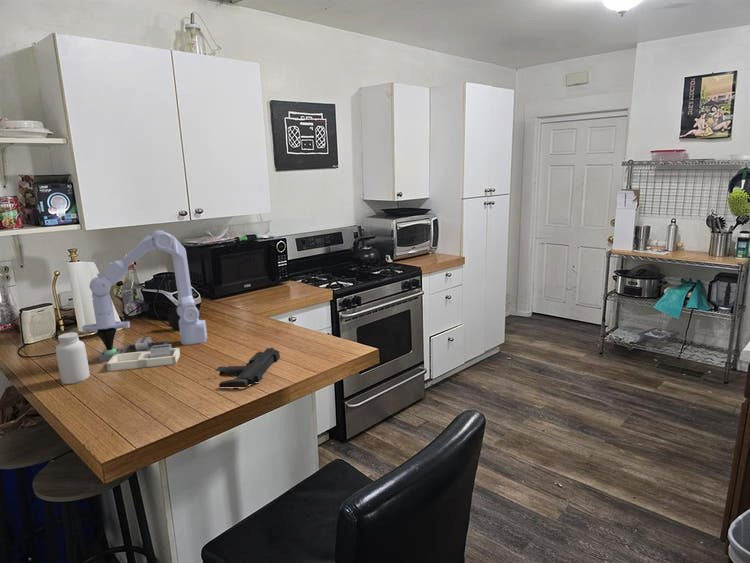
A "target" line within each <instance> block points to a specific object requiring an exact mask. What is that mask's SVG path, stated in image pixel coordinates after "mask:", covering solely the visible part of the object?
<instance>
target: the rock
mask: <svg viewBox="0 0 750 563" xmlns="http://www.w3.org/2000/svg"><path fill="white" fill-rule="evenodd" d="M196 308H197V309H198V311H199V308H198V307H196ZM199 312H200V311H199ZM166 317H167V320H168V325H169V326H170V328H171V329H176V330H180V329H179V320H180V316H179V315H178V314H177V307H169V308H167V316H166ZM198 318H199V320H202V318H201V317H200V316H199V317H198Z"/></svg>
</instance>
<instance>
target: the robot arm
mask: <svg viewBox="0 0 750 563" xmlns="http://www.w3.org/2000/svg"><path fill="white" fill-rule="evenodd" d="M156 248H157V249H158V250H161V251H163V252H166V253H168V254H170V255H171V257H172V264H173V269H174V276H175V282H176V289H177V303H178V304H177V307H176V308H177V314H178V315H179V316H180V320H179V329H178V330H179V336H180V343H181V345H183V346H184V345H187V346H188V345H189V346H190V345H194V344H203V343H207V339H208V331H207V323H206V320H204V319H201V320H199V318H198V317H200V311H198V310H199V308H198V307H197V308H198V309H197V308H196V301H195V299H194V297H193V290H192V285H191V284H192V283H191V278H190V277H191V276H190V270H189V263H188V258H187V257H188V256H187V250H186V248H185V247H184V246H183V245H182V243H180V241H179V240H178V239H177V238H176V237H175V235H172V234H170V233H169V232H166V231H164V230H162V229H157V230H154V231H152V232H151V234H148V235H146V236H145V237H144V238H143V239H142V240H141V241H139V242H138V243H137V244H136V246H134V247H133V248H132V249H131V250H130V251H129V252H128V253H127V254H126V255H125V256H124V257H123V258H122V259H121V260H114V261H113V262H112V261H110V262H109V263H108V264H107V267H106V268H105V269H103V270H102V272H98V273H97V274H96V276H97V277H95V276H94V278H92V279H91V281H90V283H89V289H90V291H91V292H92V293H91V298H92V305H93V306H92V307H93V313H94V320H95V323H93V324H92V323H91V324H85V325H82V326H81V329H82V333H86V332H94V331H95V332H96V331H97V333H96V335H97V337H98V338H100V340H101V341H102V343H103V345H104V346H105V349H107V350H112V348H113V347H114V338H115V335H116V333H117V330H118V329H130V327H131V324H130V323H131V322H130V321H129V320H127V321H116V318H115V312H114V308H113V307H114V306H113V301H112V300H113V299H112V297H111V293H110V292H111V288H112V286H115V285H116V284H117V283H118V282H119V281H121V279H123V277H125V276H126V275H127V274H128V273H129V267H131V265H133V263H135V262H136V261H138V260H139V259H140V258H141V257H142V256H144V255H145V254H146V253H148V252H155V251H156Z"/></svg>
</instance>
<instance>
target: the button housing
mask: <svg viewBox="0 0 750 563" xmlns="http://www.w3.org/2000/svg"><path fill="white" fill-rule="evenodd" d="M122 351H123V348H122V347H121V348H119V347H118V348H117V353H116V354H121V352H122ZM113 355H114V354H107V355H104V349H103V351H102V352H101V353H100V354H99V355H98V361H99V364H103V363H104V362H109V360H110V359H111V358H112V357H113Z"/></svg>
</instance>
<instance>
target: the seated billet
mask: <svg viewBox="0 0 750 563" xmlns="http://www.w3.org/2000/svg"><path fill="white" fill-rule="evenodd" d="M172 348H173V347H172V343H168V344H165V345H155V346H152V347H151V349H150V353H151V358H158V357H168V356H173V353H172Z"/></svg>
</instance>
